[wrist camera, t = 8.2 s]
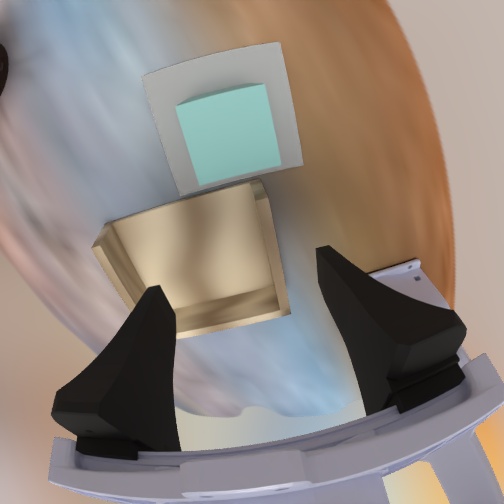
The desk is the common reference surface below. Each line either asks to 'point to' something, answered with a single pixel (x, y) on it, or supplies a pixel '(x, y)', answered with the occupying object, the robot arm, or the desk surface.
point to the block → (229, 132)
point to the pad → (215, 78)
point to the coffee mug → (3, 67)
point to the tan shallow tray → (201, 258)
